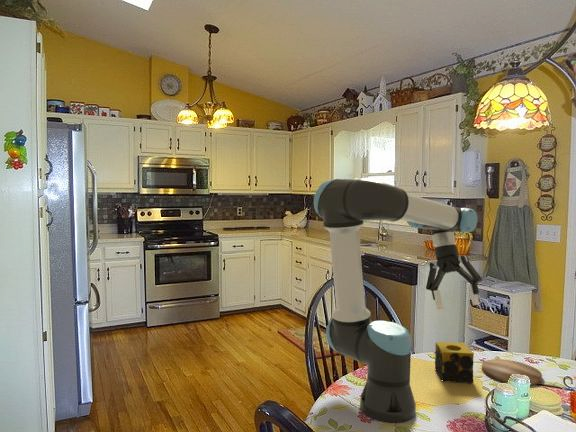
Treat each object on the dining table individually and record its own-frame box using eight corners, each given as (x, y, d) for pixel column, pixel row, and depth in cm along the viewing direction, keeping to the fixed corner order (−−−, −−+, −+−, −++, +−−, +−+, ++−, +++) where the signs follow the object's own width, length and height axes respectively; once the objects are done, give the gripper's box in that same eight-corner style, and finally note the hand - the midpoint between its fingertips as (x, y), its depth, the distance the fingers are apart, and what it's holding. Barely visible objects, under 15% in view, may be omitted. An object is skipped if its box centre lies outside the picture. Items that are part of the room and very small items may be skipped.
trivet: (533, 391, 132) (533, 386, 132) (473, 373, 145) (473, 369, 144) (548, 374, 145) (548, 369, 145) (492, 359, 158) (492, 355, 157)
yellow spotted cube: (464, 371, 147) (465, 342, 146) (474, 384, 137) (475, 353, 136) (434, 369, 148) (434, 341, 147) (441, 382, 138) (442, 351, 137)
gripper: (483, 238, 144) (498, 302, 138) (421, 253, 163) (432, 310, 157) (472, 237, 139) (486, 303, 134) (409, 252, 158) (420, 311, 153)
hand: (457, 307), depth 146 cm, fingers open, 13 cm apart
